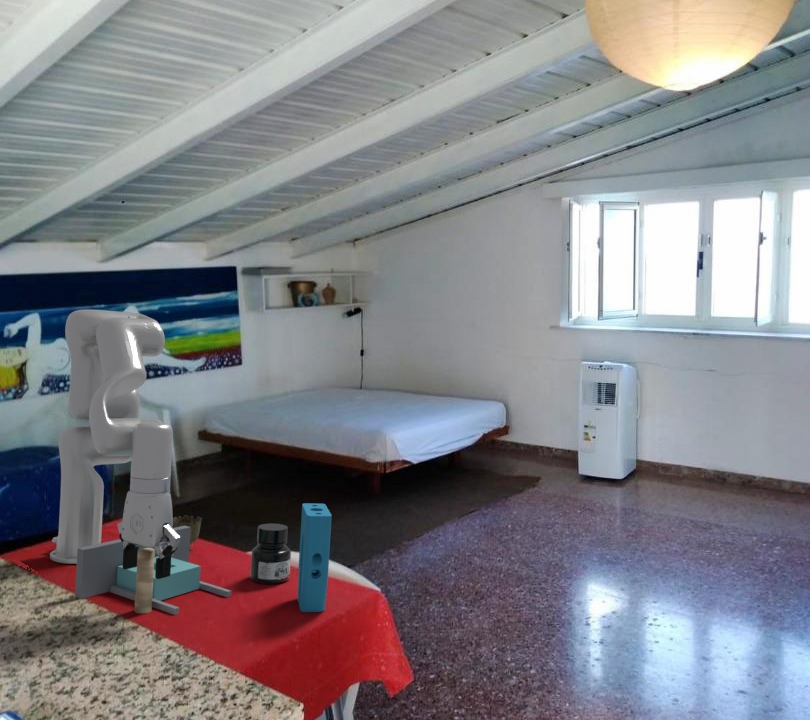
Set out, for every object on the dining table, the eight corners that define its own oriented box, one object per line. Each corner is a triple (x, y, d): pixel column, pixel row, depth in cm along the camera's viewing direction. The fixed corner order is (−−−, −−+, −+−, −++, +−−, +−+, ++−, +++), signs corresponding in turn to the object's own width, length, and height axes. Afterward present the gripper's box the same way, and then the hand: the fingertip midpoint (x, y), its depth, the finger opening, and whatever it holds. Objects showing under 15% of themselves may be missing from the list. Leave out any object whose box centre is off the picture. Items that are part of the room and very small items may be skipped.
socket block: (116, 589, 160) (117, 566, 160) (162, 576, 171) (163, 555, 171) (153, 602, 154) (155, 578, 154) (199, 588, 164) (200, 566, 164)
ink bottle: (261, 587, 168) (264, 533, 168) (241, 577, 175) (244, 525, 174) (298, 580, 174) (301, 528, 174) (277, 570, 181) (280, 520, 181)
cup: (163, 550, 192) (165, 518, 192) (182, 544, 199) (183, 513, 199) (187, 554, 190) (189, 523, 189) (205, 548, 196) (207, 517, 196)
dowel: (131, 610, 149) (134, 550, 149) (144, 606, 152) (147, 547, 152) (141, 614, 148) (144, 553, 147) (155, 610, 150) (158, 550, 150)
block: (326, 614, 154) (332, 516, 153) (301, 615, 153) (307, 516, 152) (319, 595, 165) (324, 503, 165) (296, 595, 164) (301, 503, 164)
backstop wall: (74, 596, 155) (77, 548, 155) (182, 567, 179) (184, 525, 179) (147, 623, 143) (150, 571, 143) (252, 589, 167) (255, 543, 166)
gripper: (106, 482, 151) (101, 568, 151) (164, 493, 141) (160, 585, 141) (137, 478, 157) (133, 560, 157) (195, 489, 148) (191, 577, 148)
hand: (146, 572), depth 149 cm, fingers open, 9 cm apart
